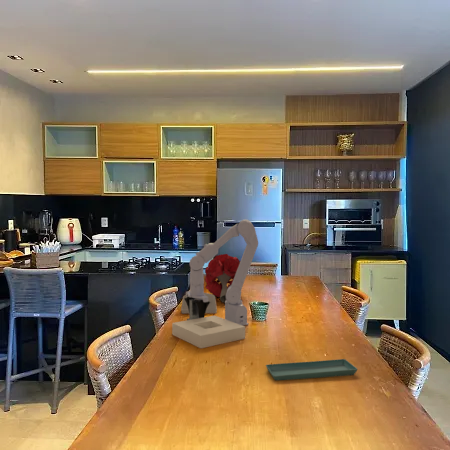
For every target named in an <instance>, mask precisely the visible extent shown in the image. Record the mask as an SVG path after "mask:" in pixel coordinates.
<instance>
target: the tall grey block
mask: <svg viewBox="0 0 450 450" xmlns="http://www.w3.org/2000/svg"><path fill="white" fill-rule="evenodd" d="M197 301H200V300H198V299H192V300H190V314H189V318H186V321H187V320H192V319H198V318H199V312H198V306H197V304H196V302H197Z"/></svg>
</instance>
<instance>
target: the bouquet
mask: <svg viewBox="0 0 450 450" xmlns="http://www.w3.org/2000/svg"><path fill="white" fill-rule="evenodd" d="M239 264H240V259H239V257H237V256H230V255H229V254H228V253H225V254H224V253H223V254H217V255H216V256H214V257H213V258H212V259H211V260H210V261H209V262H208V263H207V266H206V267H205V269H204V272H205V273H204V274H205V277H204V282H205V283H206V285H205V286H204V288H205V289H206V290H207V291H208V293H209V294H212V295H214V296H215V298H216V297H217V298H219V299H220V301H221V303H224V304H225V301H226V293H227V289H228V287H229V286H231V284H232V282H233V280H234V277H235V274H236V272H237V269H238V267H239Z"/></svg>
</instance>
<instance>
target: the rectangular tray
mask: <svg viewBox="0 0 450 450" xmlns="http://www.w3.org/2000/svg"><path fill="white" fill-rule="evenodd" d="M265 368H266V369H267V371H268V372H269V374H270V375H271V377H272V378H273V379H274V381H288V380H289V381H290V380H303V379H318V378H319V379H320V378H329V377H331V378H333V377H345V376H354V375H355V374H356V373H357V371H358V368H357V367H356V366H355V365H354V364H352V363H351V362H350V361H348V360H347V359H345V358H340V359H327V360H314V361H312V360H311V361H302V362H301V361H300V362H287V363H286V362H285V363H272V364H266V365H265Z"/></svg>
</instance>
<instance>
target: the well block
mask: <svg viewBox="0 0 450 450" xmlns="http://www.w3.org/2000/svg"><path fill="white" fill-rule="evenodd" d="M171 324H172V325H171V327H172V328H171V332H172V334H171V335H172V336H174V337H176V338H179V339H180V340H182V341H184V342H187V343H189V344H190V345H193V346H194V347H197V348H199V349H204V348H208V347H209V348H210V347H212V346H213V347H214V346H217V345H222V344H226V343H230V342H235V341H240V340H244V339H245V340H246V325H244V326H242V325H239V324H237V323H234V322H231V321H228V320H226V319H225V318H223V317H221V316H220V317H219V316H218V315H211V316H210V315H209V316H204V318H198V319H192V320H187V319H186V320H182V321H176V322H172V323H171Z"/></svg>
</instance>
